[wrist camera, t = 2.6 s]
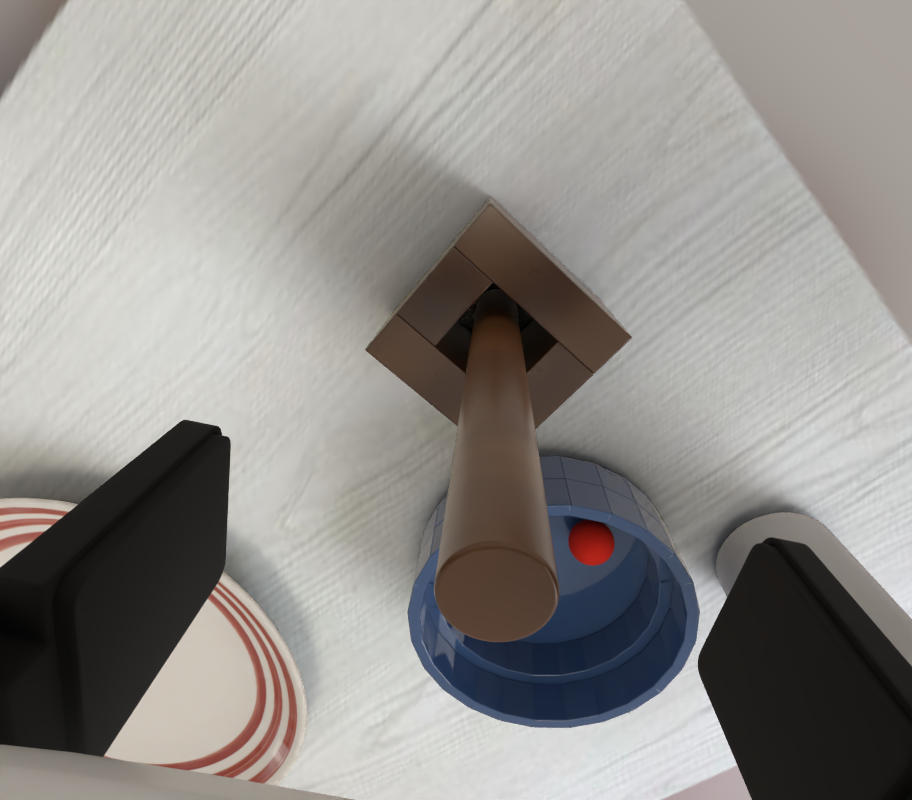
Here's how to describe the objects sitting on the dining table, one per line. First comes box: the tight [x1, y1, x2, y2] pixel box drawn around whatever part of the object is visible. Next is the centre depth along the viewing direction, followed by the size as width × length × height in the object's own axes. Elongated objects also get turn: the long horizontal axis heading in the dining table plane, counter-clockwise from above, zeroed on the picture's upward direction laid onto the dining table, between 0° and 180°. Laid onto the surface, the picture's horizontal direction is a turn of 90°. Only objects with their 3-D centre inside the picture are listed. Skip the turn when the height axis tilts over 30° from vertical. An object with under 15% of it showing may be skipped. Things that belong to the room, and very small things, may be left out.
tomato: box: [568, 519, 615, 566], centre depth 30 cm, size 2×2×2 cm
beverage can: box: [716, 512, 912, 666], centre depth 26 cm, size 6×6×12 cm
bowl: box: [408, 456, 700, 728], centre depth 30 cm, size 14×14×6 cm
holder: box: [366, 197, 632, 429], centre depth 24 cm, size 7×7×6 cm
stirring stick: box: [434, 289, 560, 642], centre depth 18 cm, size 2×2×20 cm
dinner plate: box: [0, 498, 308, 786], centre depth 36 cm, size 27×27×3 cm
